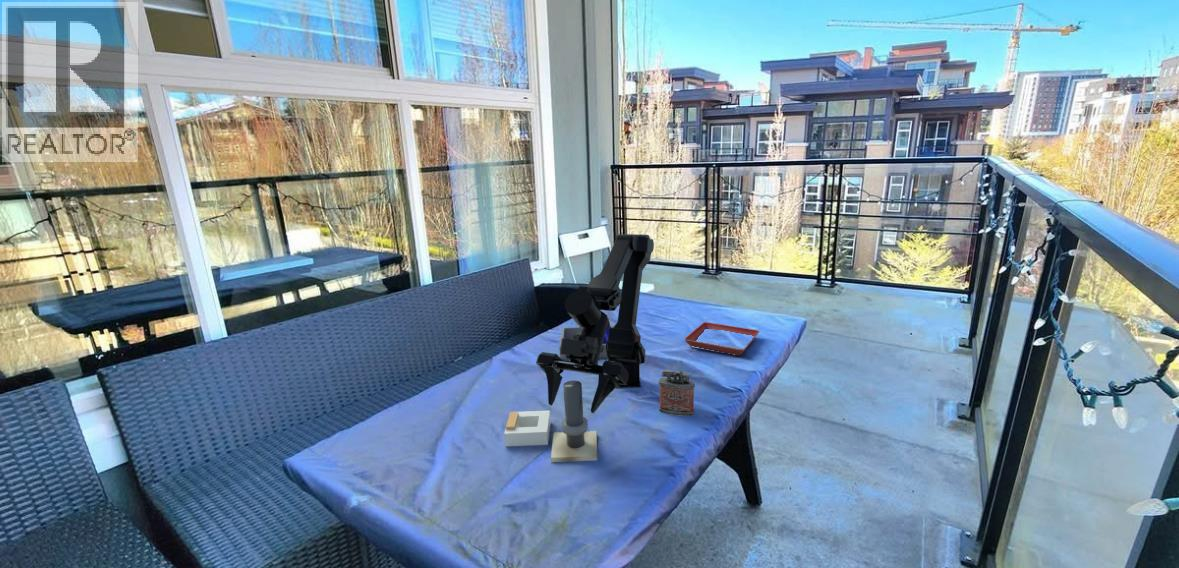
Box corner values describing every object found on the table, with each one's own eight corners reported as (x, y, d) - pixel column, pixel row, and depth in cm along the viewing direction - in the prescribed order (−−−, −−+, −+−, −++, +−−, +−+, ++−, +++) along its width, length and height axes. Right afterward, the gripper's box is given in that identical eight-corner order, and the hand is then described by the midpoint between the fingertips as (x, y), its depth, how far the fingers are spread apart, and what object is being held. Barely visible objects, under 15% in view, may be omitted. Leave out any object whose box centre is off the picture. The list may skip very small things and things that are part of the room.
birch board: (596, 435, 105) (596, 430, 105) (597, 460, 97) (597, 455, 96) (554, 436, 105) (553, 432, 105) (551, 462, 97) (550, 457, 96)
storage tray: (613, 337, 161) (613, 325, 160) (616, 357, 145) (616, 344, 144) (562, 339, 161) (562, 327, 160) (560, 359, 145) (559, 346, 144)
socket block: (550, 422, 111) (549, 407, 110) (547, 444, 103) (546, 428, 102) (511, 424, 111) (510, 409, 110) (505, 446, 103) (503, 430, 102)
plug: (583, 433, 104) (580, 376, 101) (592, 446, 100) (589, 387, 96) (559, 439, 103) (555, 381, 99) (567, 453, 98) (564, 392, 94)
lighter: (695, 410, 114) (695, 370, 111) (693, 417, 111) (693, 376, 108) (660, 405, 116) (660, 366, 114) (657, 413, 113) (657, 372, 111)
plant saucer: (759, 339, 155) (760, 329, 154) (743, 360, 140) (744, 349, 139) (703, 331, 164) (703, 321, 164) (683, 349, 150) (683, 339, 149)
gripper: (536, 315, 102) (512, 388, 95) (622, 324, 95) (602, 403, 88) (556, 338, 111) (535, 405, 104) (636, 347, 104) (619, 421, 97)
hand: (570, 408), depth 98 cm, fingers open, 9 cm apart
